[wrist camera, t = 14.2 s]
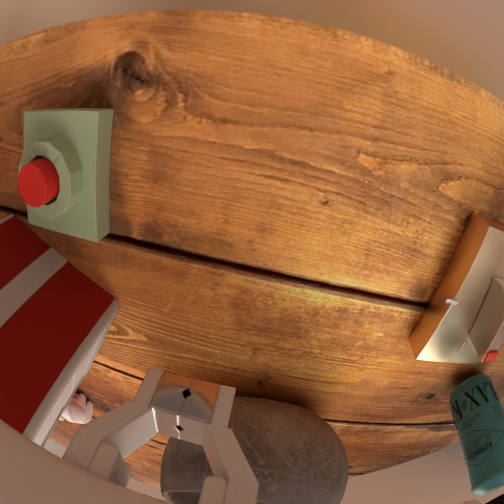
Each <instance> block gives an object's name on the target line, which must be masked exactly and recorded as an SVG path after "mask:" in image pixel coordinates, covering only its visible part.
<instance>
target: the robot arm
mask: <svg viewBox="0 0 504 504" xmlns="http://www.w3.org/2000/svg"><path fill="white" fill-rule="evenodd" d="M235 390H236V388H234V387H229V386H224V385H221V384H217V383H212V382H208V381H204V380H199V379H195V378H190V377H186V376H182V375H179V374H176V373H172V372H169V371H166V370H163V369H159V368H156V367H153V366H151V367H150V368H149V370H148V371H147V373H146V375H145V378H144V380H143V382H142V384H141V386H140V388H139V390H138V392H137V394H136V396H135V398H134V400H133V402H132V401H127V402H125V403H124V404H122V405H120V406H118V407H117V408H115V409H113V410H111V411H109V412H108V413H106V414H104V415H102V416H100V417H99V418H97V419H95V420H93V421H91V422H89V423H87V424H86V425H84V426H82V427H80V428H78V429H77V431H76V433H75V435H74V436H73V438H72V440H71V442H70V444H69V446H68V448H67V450H66V452H65V454H64V455H63V457H62V458H60V457H58V456H57V455H55V454H53V453H51V452H49V451H48V450H46V449H44V448H43V447H41V446H40V445H38V444H36V443H35V442H33V441H32V440H30V439H28V438H27V437H25V436H24V435H22V434H21V433H19V432H18V431H16V430H15V429H13V428H12V427H11V426H9V425H8V424H6V423H5V422H4V421H2V420H1V419H0V504H173V503H170V502H166V501H163V500H159V499H156V498H153V497H150V496H147V495H144V494H141V493H139V492H136V491H133V490H130V489H128V488H126V487H127V485H128V482H129V479H130V476H131V473H130V471H129V469H128V468H127V466H126V464H125V462H124V460H123V459H124V458H126V457H127V456H128V455H130V454H131V453H133V452H134V451H135V450H137V449H138V448H139V447H141V446H142V445H143V444H145V443H146V442H147V441H149V440H150V439H151V438H153V437H154V436H155V435H157V433H159V434H162V435H166V436H169V437H173V438H177V439H181V440H184V441H188V442H191V443H195V444H198V445H202V446H203V448H204V451H205V454H206V456H207V459H208V462H209V464H210V467H211V470H212V472H213V475H214V477H213V476H208V477H206V478H205V480H204V484H203V488H202V491H201V495H200V499H199V502H198V504H256V502H257V495H258V488H259V483H258V481H257V479H256V477H255V475H254V473H253V471H252V469H251V467H250V465H249V463H248V461H247V459H246V457H245V455H244V453H243V451H242V449H241V447H240V445H239V443H238V441H237V439H236V437H235V435H234V433H233V431H232V429H230V428H228V423H229V419H230V414H231V409H232V405H233V400H234V395H235ZM460 504H481V503H480V502H478V501H476V500H470V501H467V502H463V503H460Z"/></svg>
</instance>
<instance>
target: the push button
mask: <svg viewBox="0 0 504 504" xmlns="http://www.w3.org/2000/svg"><path fill="white" fill-rule="evenodd" d="M18 188H19V192H20V194H21V196H22V198H23V200H24V201H25V202H26V203H27V204H28V205H29V206H31V207H34V208H37V207H40V206H41V205H43V204H45V203H47V202H48V201H50V200H52V199H54V198H55V197H56V195H57V193H58V191H59V175H58V173H57V170H56V168H55V165H54V164H53V163H52V162H51V161H50V160H48V159H45V158H41V159H38V160H35V161H32V162H30V163H27V164H25V165H24V166H23V167H22V168H21V170H20V172H19V175H18Z"/></svg>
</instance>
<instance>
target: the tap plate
mask: <svg viewBox="0 0 504 504" xmlns="http://www.w3.org/2000/svg"><path fill="white" fill-rule="evenodd" d="M493 278H504V226H503V225H501V224H499V223H497V222H495V221H492V220H490V219H488V218H486V217H483V216H481V215H479V214H476V213H474V212H472V213H471V216H470V219H469V221H468V224H467V226H466V228H465V231H464V233H463V236H462V238H461V240H460V243H459V245H458V247H457V249H456V252H455V254H454V256H453V258H452V260H451V262H450V264H449V267H448V269H447V271H446V273H445V275H444V277H443V279H442V281H441V283H440V285H439V286H438V288H437V290H436V292H435V294H434V296H433V298H432V300H431V301H430V303H429V305H428V307H427V309H426V310H425V312H424V314H423V316H422V317H421V319H420V321H419V322H418V324H417V326H416V327H415V329H414V331H413V332H412V334H411V336H410V337H409V341H410V344H411V347H412V350H413V353H414V355H415V358H416V360H425V361H436V362H448V363H461V364H478V363H479V361H480V359H479V357H478V355H477V353H476V351H475V349H474V347H473V345H472V343H471V341H470V339H469V338H468V335H469V333H470V331H471V329H472V327H473V325H474V323H475V321H476V319H477V316H478V314H479V312H480V310H481V308H482V305H483V303H484V301H485V298H486V296H487V293H488V291H489V288H490V286H491V283H492V281H493Z"/></svg>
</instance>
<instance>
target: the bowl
mask: <svg viewBox="0 0 504 504" xmlns="http://www.w3.org/2000/svg"><path fill="white" fill-rule="evenodd" d="M228 428H230V429H232V431H233V433H234V435H235V437H236V439H237V441H238V443H239V445H240V447H241V449H242V451H243V453H244V455H245V457H246V459H247V461H248V463H249V465H250V467H251V469H252V471H253V473H254V475H255V477H256V479H257V481H258V483H259V488H258V495H257V502H256V504H340V502H341V500H342V498H343V495H344V492H345V489H346V485H347V480H348V460H347V456H346V453H345V449H344V447H343V445H342V442H341V441H340V439H339V437H338V436H337V434H336V433H335V432H334V430H333V429H332V428H331V426H330V425H329V424H328V423H326V422H325V421H324V420H323V419H322V418H321V417H319V416H318V415H316V414H315V413H313V412H312V411H310V410H308V409H305V408H303V407H300V406H297V405H293V404H289V403H286V402H280V401H275V400H270V399H265V398H254V397H243V396H242V397H239V396H234V400H233V405H232V409H231V414H230V419H229V423H228ZM208 476H213V477H214V475H213V472H212V470H211V467H210V464H209V462H208V459H207V456H206V454H205V451H204V448H203V446H202V445H198V444H195V443H191V442H188V441H184V440H181V439H177V438H173V437H170V438H169V440H168V443H167V445H166V448H165V450H164V454H163V458H162V466H161V478H160V485H161V493H162V496H163V498H165V499H166V500H167V501H168V502H170V503H173V504H198V502H199V499H200V495H201V491H202V488H203V484H204V480H205V478H206V477H208Z"/></svg>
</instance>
